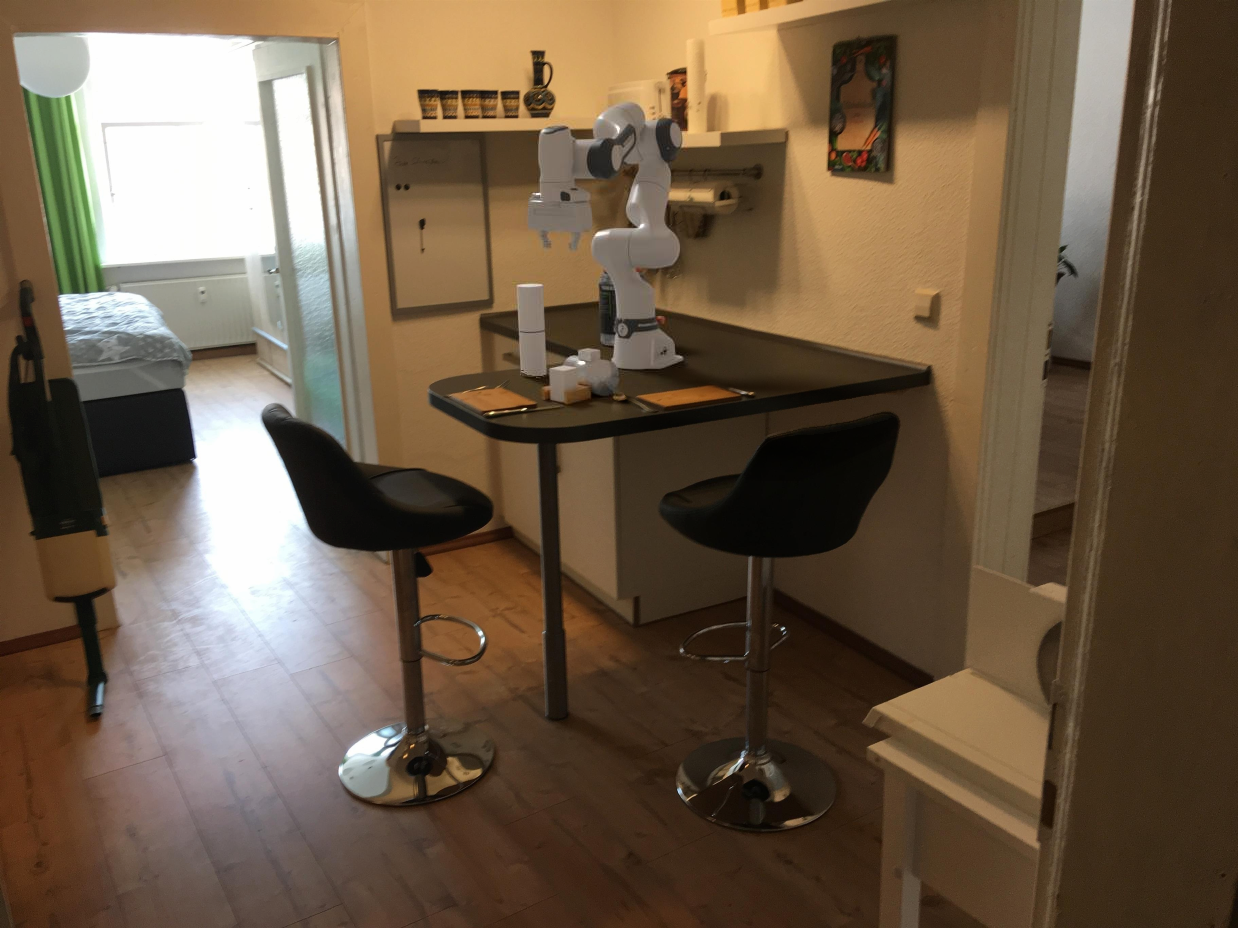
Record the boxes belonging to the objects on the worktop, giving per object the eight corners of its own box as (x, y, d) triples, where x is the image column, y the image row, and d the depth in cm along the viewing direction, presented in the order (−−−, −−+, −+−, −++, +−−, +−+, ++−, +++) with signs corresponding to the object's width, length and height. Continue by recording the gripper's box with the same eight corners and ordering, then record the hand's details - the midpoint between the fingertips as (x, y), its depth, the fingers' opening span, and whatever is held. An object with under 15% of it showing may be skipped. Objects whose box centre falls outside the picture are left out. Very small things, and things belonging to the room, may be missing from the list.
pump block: (550, 399, 252) (549, 368, 250) (564, 396, 255) (563, 365, 253) (564, 402, 249) (563, 371, 246) (578, 399, 252) (577, 367, 250)
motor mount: (585, 386, 266) (584, 345, 263) (619, 392, 258) (618, 350, 255) (537, 398, 253) (536, 355, 250) (571, 405, 246) (570, 360, 242)
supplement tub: (656, 345, 324) (656, 263, 316) (612, 349, 317) (611, 266, 310) (634, 337, 337) (633, 259, 330) (592, 342, 331) (590, 262, 323)
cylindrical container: (529, 378, 277) (525, 287, 269) (516, 374, 282) (512, 285, 275) (551, 375, 281) (547, 285, 273) (537, 371, 286) (534, 283, 279)
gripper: (520, 193, 257) (523, 248, 261) (577, 195, 244) (579, 252, 248) (537, 192, 261) (540, 246, 266) (595, 193, 249) (597, 250, 253)
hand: (560, 249), depth 257 cm, fingers open, 8 cm apart
